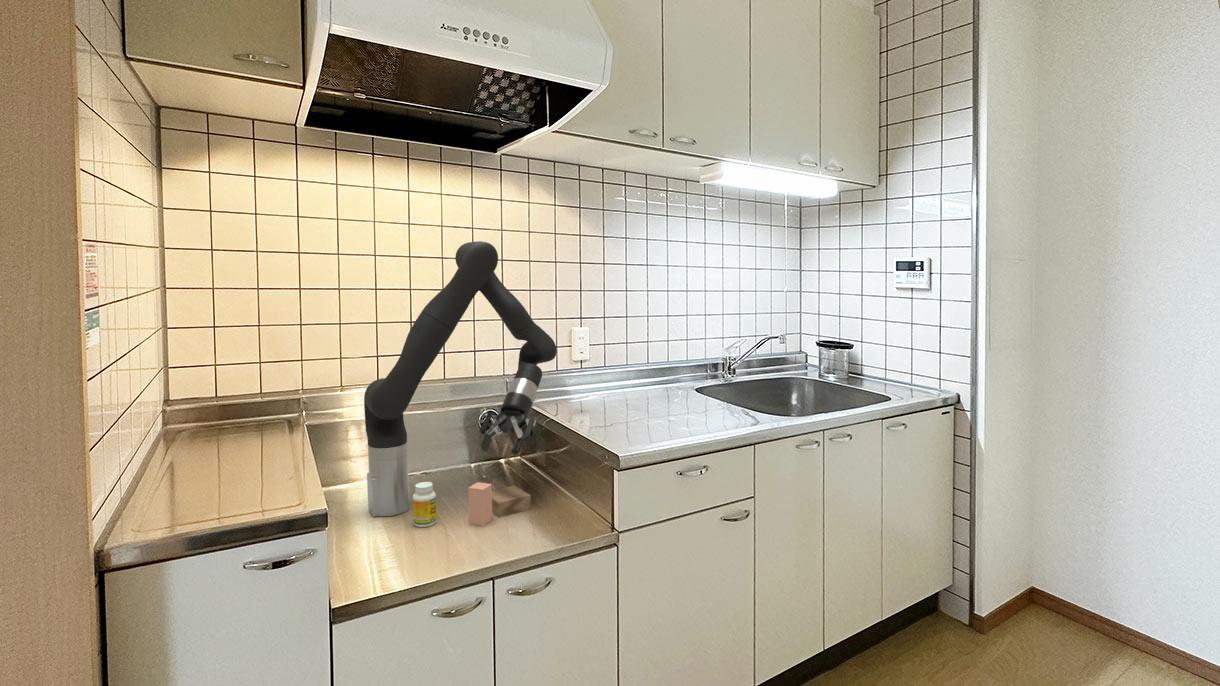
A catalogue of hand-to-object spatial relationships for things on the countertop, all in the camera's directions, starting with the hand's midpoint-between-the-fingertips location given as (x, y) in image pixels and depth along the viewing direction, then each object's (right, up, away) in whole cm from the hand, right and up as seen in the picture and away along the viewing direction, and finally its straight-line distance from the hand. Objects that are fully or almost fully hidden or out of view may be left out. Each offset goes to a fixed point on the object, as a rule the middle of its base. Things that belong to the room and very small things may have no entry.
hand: (498, 451), depth 150 cm
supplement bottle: (-16, -16, -8) cm, 24 cm away
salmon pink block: (-3, -16, -7) cm, 17 cm away
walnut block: (+2, -15, +2) cm, 15 cm away
